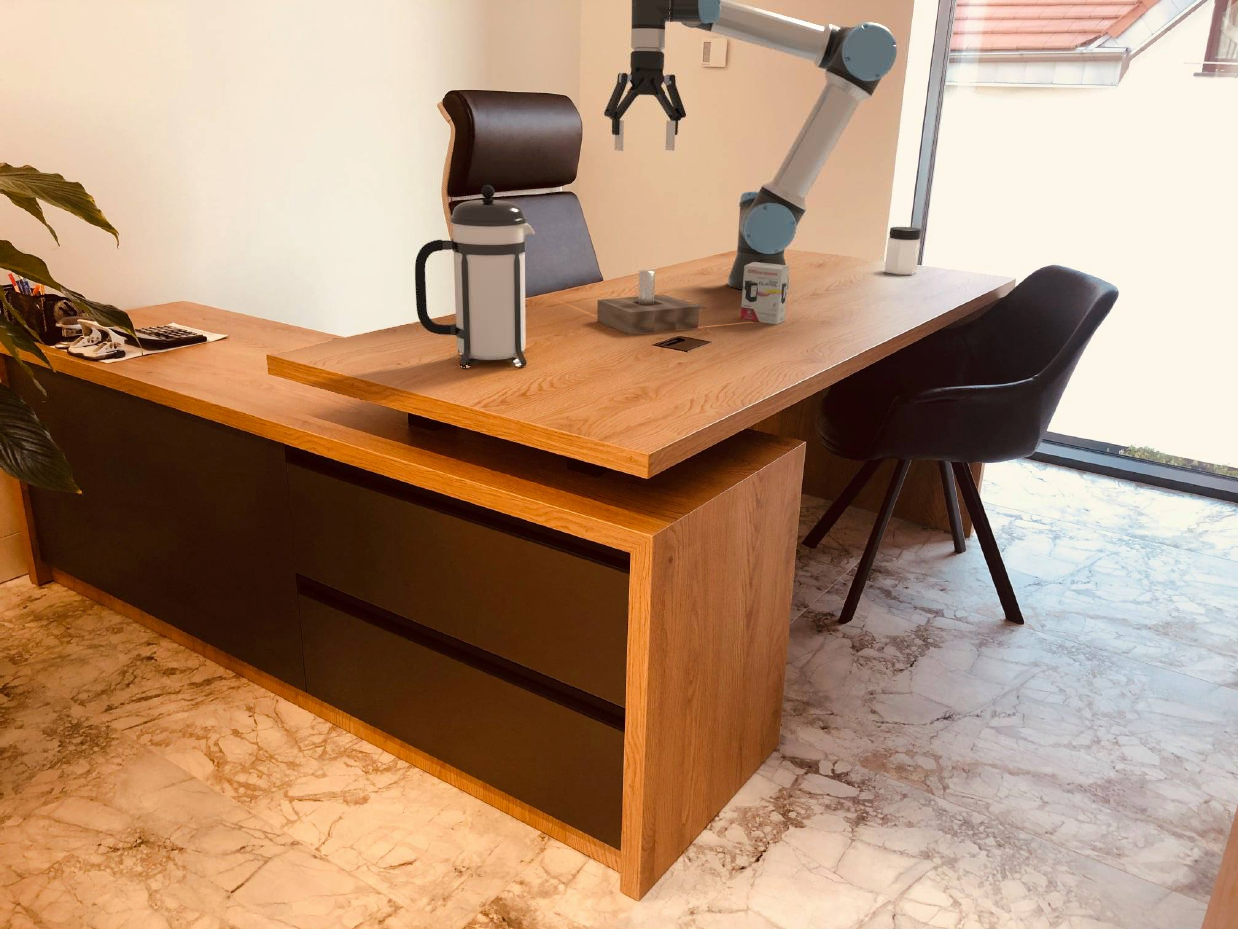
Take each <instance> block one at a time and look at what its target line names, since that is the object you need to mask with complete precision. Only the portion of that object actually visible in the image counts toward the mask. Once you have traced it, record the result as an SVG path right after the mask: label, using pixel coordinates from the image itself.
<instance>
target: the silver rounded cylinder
mask: <svg viewBox="0 0 1238 929" xmlns="http://www.w3.org/2000/svg"><path fill="white" fill-rule="evenodd" d="M655 273H656V272H655V270H650V269H648V270H647V269H646V270H645V269H642V270H641V269H640V270H638V296H637V297H638V304H639V305H642V306H651V305H654V295H655V278H656V276H655Z"/></svg>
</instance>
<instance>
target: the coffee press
mask: <svg viewBox="0 0 1238 929" xmlns="http://www.w3.org/2000/svg"><path fill="white" fill-rule="evenodd" d="M480 193H481V195H482V196H483V198H482V199H475V200H468V201H464V202H461V203H459V204H458V205H456V206H455V207H454V209H453V211H452V214H451V215H450V216H449V223H450V224H451V225H452V226H451V227H452V238H451V240H447V239H446V240H443V239H435V240H431V241H429V242H427V243H425V244H424V245H422V246H421V248H420V249H419V251H418V253H417V255H416V258H415V264H414V267H415V268H414V283H415V304H416V314H417V317H418V320H419V322H420V324H421V326H422V327H423V328H424V329H426V331H428V332H430V333H432V334H435V335H440V336H441V335H442V336H456V347H457V353H458V355H459V354H462V355H463V356H461V358H460V361H459V367H460V366H462V367H465V368H466V365H468V366H471V367H472V366H473V364H474V363H475V362H476V361H479V360H482V361H495V360H496V361H497V360H506V359H507V360H510V361H511V362H512V363H513V364H514V366H515V367H516V366H519V365H521V366H520V368H523V367H522V366H524V367H526V365H527V364H528V363H527V360H526V357H525V356H524V353H523V352H525V350H526V339H527V338H526V334H527V333H526V255H525V254H526V251H527V239H526V238H525V237H526V235H535V234H536V232H535V231H534V228H532V227H531V225H530V224H529V223H528V218H527V216H525V214H524V210H523V209H522V207H521V206H519V205H518V204H516V203H514V202H511V201H507V200H498V199H493V197H494V196H495V193H496V190H495V189H494V187H493V186H492V185H490V184H485V185H483V187H481V191H480ZM444 250H445V251H452V252H453V272H454V273H453V274H454V297H455V298H454V301H455V302H454V303H455V304H454V306H455V323H452V324H442V323H441V324H440V323H436V322H434V321H433V320H432V319H431V317H430V316H429V314H428V308H427V307H428V306H427V303H428V302H427V285H426V263H427V260H428V258H430V257H429V256H430V255H432V254H433V253H435V252H440V251H441V252H442V251H444ZM517 357H518V358H517ZM465 368H464V369H465Z"/></svg>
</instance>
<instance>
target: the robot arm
mask: <svg viewBox="0 0 1238 929" xmlns="http://www.w3.org/2000/svg"><path fill="white" fill-rule="evenodd" d="M666 22H668V23H673V22H674V23H681V25H682V26H685V27H687V28H690V29H698V30H699V29H700V30H702V31H705V32H710V33H715V34H717V35H720V36H721V35H722V36H725V37H728V38H732V39H734V40H738V41H742V42H746V43H750V44H752V45H757V46H760V47H763V48H766V49H770V50H774V51H777V52H780V53H784V54H787V55H791V56H795V57H797V58H798V57H799V58H801V59H805V60H809V61H812V62H813V63H814V65H815V67H816V68H819V69H823V70H825V71H824V76H825V81H826V83H825V85H824V87H823V89H822V91H821V92H820V95H819V96H818V98H817V100H816V102H815V104H814V106H813V107H812V109H811V110H810V113H809V114H808V115H807V118H806V120H805V122H804V123H803V125H802V127H801V129H800V131H799V133H798V134H797V136H796V138H795V139H794V142H793V143H792V145H791V147H789V148H790V149H789V150H788V153H787V154H786V155H785V157H784V159H783V162H782V163H781V165H780V167H779V168H778V170H777V172H776V174H775V176H774V177H773V179H772V181H770V182H766V183H764V184H762V185H761V188H760V189H759V190H758V191H745V192H743V193H741V196H740V199H739V200H740V201H739V202H738V205H739V206H738V207H739V214H738V216H739V217H738V232H737V247H736V248H737V249H736V250H737V251H736V256H735V260H734V261H733V265H732V268H731V270H730V272H729V275H728V281H727V282H728V284H727V285H728V287H730V288H734V289H738V290H743V278H744V266H745V265H747V264H750V263H752V262H759V263H768V264H778V265H786V266H787V264H786V260H785V249H787V248H788V247H789V245H790V244H791V243H792V242H793V240H794V238H795V235H796V233H797V227H798V225H799V223H800V222H801V219H802V218H803V216H804V214H805V213H806V211H807V205H806V198H807V195H808V194H809V192H810V190H811V189H812V187H813V185H814V183H815V181H816V180H817V178H818V177H819V175H820V173H821V171H822V170H823V169H824V168H823V167H824V166H825V164H826V162H827V160H828V159H829V157H830V156H831V154H832V152H833V150H834V149H835V147H836V145H837V144H838V141H839V140H840V139H841V136H842V134H843V133H844V131H845V129H846V127H847V126H848V124H849V123H850V121H851V119H852V117H853V115H854V114H855V111H856V110H857V109H858V106H859V105H860V104H861V102H863V101H865V100H868V99H871V98H872V95H873V94H874V92H875V91H876V89H877V87H878V85H879V84H880V82H881V80H882V78H883V77H885V76H886V75H887V74H889V72H890V71H891V69H892V68H893V66H894V64H895V62H896V60H897V52H898V48H897V47H898V46H897V42H896V39H895V37H894V34H893V33H892V32H891V31H890V29H889V28H887V27H886V26H884V25H882V24H881V23H876V22H871V21H870V22H862V23H859V24H858V25H855V26H841V25H835V24H833V23H828V24H826V25H825V26H821V25H819V24H818V25H817V24H815V23H811V22H806V21H804V20H801V19H797V18H793V17H790V16H787V15H782V14H779V13H776V12H772V11H768V10H765V9H761V8H758V7H754V6H752V5H747V4H743V3H740V2H737V1H733V0H631V33H630V34H631V36H630V38H631V39H630V48H631V49H633V51H631V52H630V63H629V64H630V66H629V67H630V74H628V73H626V72H619V73H617V78H616V79H617V81H616V84H615V86H614V89H613V92H612V94H611V96H610V98H609V101H608V103H607V105H606V107H605V110H604V112H603V116H604V117H605V118H606V117H607V118H608V119H610V120H611V134H612V136H614V151H620V152H623V151H624V137H625V136H624V133H625V130H624V129H625V126H624V125H625V124H624V123H625V120H623V119H621V118H622V117H623V116H624V115H625V113H626V112H627V110H628V109H629V108H630V106H631V105H632V103H633V102H634V101H635V99H636V98H637V97H638V96H653V97H654V98H656V100H657V101H658V103H659V104H660V106H661V108H662V109H663V110H664V112H665V114H666V116H667V117H668V118H669V120H666V123H665V125H666V128H665V131H666V132H665V151H670V152H671V151H672V152H673V151H675V145H676V144H675V142H676V141H675V140H676V136H678V133H679V122H680V121H681V120H682V119H683V118H684V119H685V118H686V117H687V113H686V110H685V106H684V105H683V101H682V98H681V96H680V93H679V90H678V86H677V82H676V81H677V79H676V75H675V74H666V75H664V73H663V72H664V68H665V53H664V51H663V50H664V49H665V48H666ZM629 82H630V84H631V86H630V88H629V89H628V90H627V92H626V94H625V96H624V97H623V98H622V96H623V95H624V92H625V90H626V88H627V84H629ZM663 84H664V85H665V87H666V90H667V94H668V95H666V91H665V89H664V88H663V87H662V85H663ZM667 96H669V97H667ZM621 99H622V100H621ZM669 99H670V100H669ZM789 285H790V278H789V276H788V283H787V289H788V288H790V286H789Z"/></svg>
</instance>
